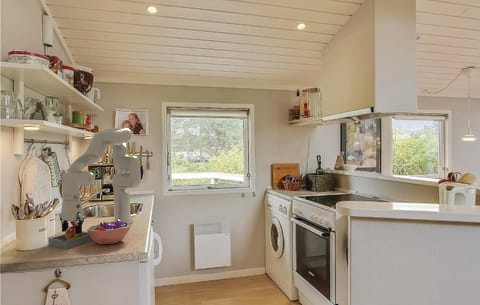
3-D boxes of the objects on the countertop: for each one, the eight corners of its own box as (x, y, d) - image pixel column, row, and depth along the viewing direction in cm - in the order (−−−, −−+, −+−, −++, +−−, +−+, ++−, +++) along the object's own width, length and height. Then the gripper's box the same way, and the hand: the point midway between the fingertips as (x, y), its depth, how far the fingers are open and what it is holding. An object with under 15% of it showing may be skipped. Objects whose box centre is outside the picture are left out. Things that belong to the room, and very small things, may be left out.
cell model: (90, 240, 151) (89, 218, 151) (131, 235, 158) (131, 214, 158) (85, 250, 135) (85, 226, 135) (132, 245, 142) (131, 221, 142)
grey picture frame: (76, 237, 156) (76, 230, 156) (94, 240, 151) (94, 233, 151) (48, 245, 143) (48, 238, 143) (66, 249, 137) (66, 241, 137)
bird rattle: (65, 247, 144) (81, 240, 144) (56, 227, 145) (72, 220, 144) (73, 243, 151) (88, 237, 150) (64, 224, 151) (79, 217, 150)
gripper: (90, 197, 147) (90, 232, 147) (66, 195, 154) (67, 228, 154) (76, 200, 140) (77, 236, 140) (52, 198, 147) (53, 232, 147)
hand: (71, 232), depth 147 cm, fingers open, 9 cm apart
